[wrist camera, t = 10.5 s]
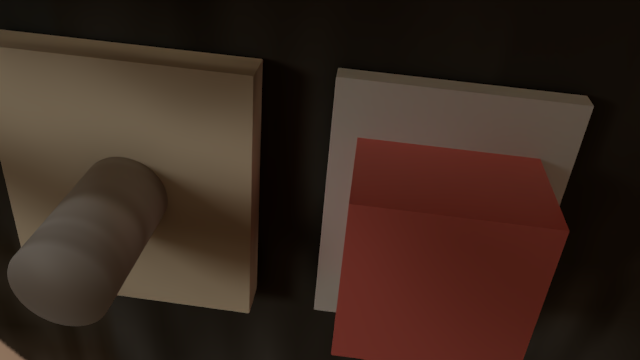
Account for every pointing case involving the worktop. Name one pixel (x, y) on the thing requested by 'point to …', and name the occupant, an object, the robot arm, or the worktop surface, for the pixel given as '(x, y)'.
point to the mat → (438, 137)
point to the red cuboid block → (445, 253)
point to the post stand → (129, 174)
